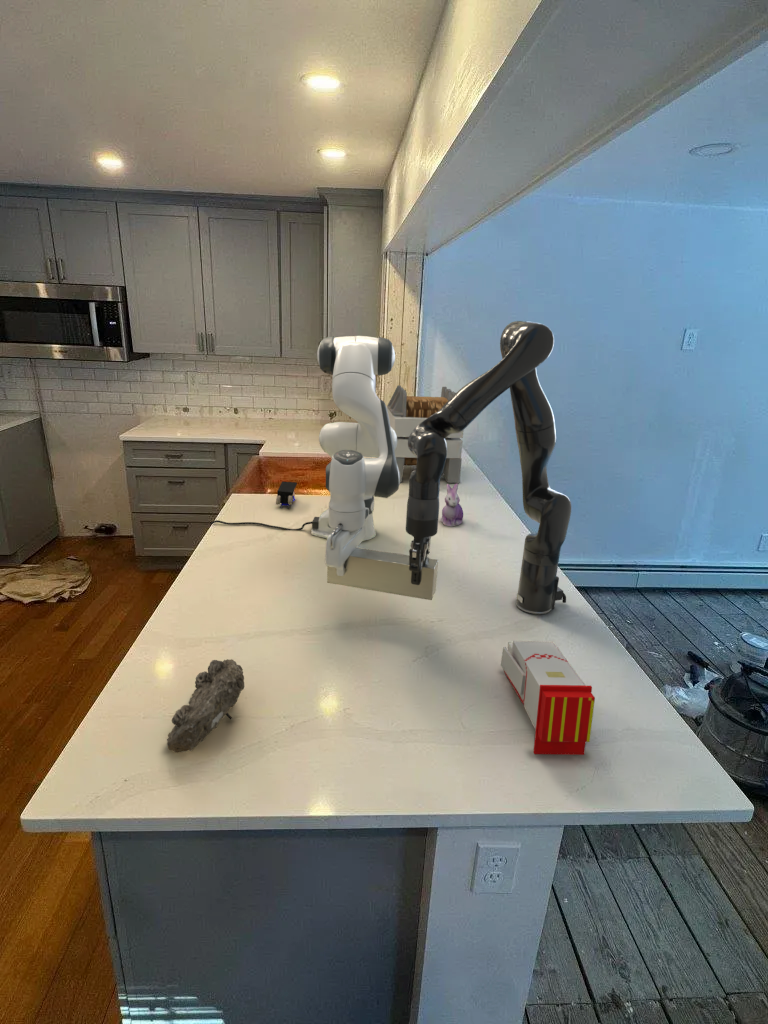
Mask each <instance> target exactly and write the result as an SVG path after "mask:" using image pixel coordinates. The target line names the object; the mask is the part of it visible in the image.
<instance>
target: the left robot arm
mask: <svg viewBox="0 0 768 1024" xmlns="http://www.w3.org/2000/svg"><path fill="white" fill-rule="evenodd" d="M316 360H317V363H318V365H319V369H320V370H321V371H322V372H323V373H324V374H327V375H331V376H332V379H331V380H332V381H331V387H332V388H331V393H332V400H333V403H334V404H335V406H336V407H337V408H338V410H339V411H341V412H342V413H344V414H345V415H346V416H348V417H350V418H352V419H353V420H355V421H356V422H348V421H335V422H330V423H325V424H324V425H323V426H322V427H321V429H320V431H319V435H318V442H319V446H320V448H321V450H322V451H323V452H324V453H325V454H327V455H328V456H329V457H330V459H331V460H330V462H329V463H328V464H327V465H326V467H325V488H326V490H327V491H328V492H329V495H330V497H329V502H328V508H326V509H325V510H323V512H321V514H320V515H319V516H314V517H313V519H312V521H307V522H304V523H303V524H302V525H301V527H299V528H287V527H283V526H278V525H277V526H276V525H271V524H267V523H262V522H256V521H243V522H241V521H240V522H226V521H223V520H218V519H217V520H213V521H211V522H210V523H209V525H213V524H216V523H220V524H223V525H229V526H233V525H234V526H235V525H237V526H240V525H255V526H256V525H257V526H263V527H267V528H272V529H277V530H278V529H279V530H284V531H302V530H303V529H304V527H305V526H307V525H311V530H310V533H311V536H315V537H319V538H323V539H326V542H325V554H324V557H325V558H324V563H325V566H326V567H327V566H329V567H334V568H336V569H337V575H338V576H343V575H344V574H345V568H344V563H345V561H346V559H347V558H348V557H349V555H350V554H351V553H352V552H353V551H354V549H355V548H359V545H361V543H362V542H365V541H368V540H372V539H373V538H375V537H376V535H377V532H376V528H375V523H374V513H373V512H374V509H375V498H383V499H388V498H389V497H391V496H393V495H394V494H395V493H396V492H397V491H398V490H399V487H400V484H401V482H400V472H399V468H398V465H397V462H396V457H395V452H394V450H395V449H396V446H397V435H396V433H395V431H394V429H393V428H392V427H390V422H389V416H388V412H387V405H386V402H385V401H384V400H383V399H381V398H380V397H379V396H378V394H377V390H376V386H377V385H376V384H377V383H376V381H377V380H376V379H377V378H376V376H385V375H388V374H389V373H390V372H391V371H392V369H393V367H394V364H395V361H396V351H395V347H394V346H393V343H392V341H391V340H390V339H389V338H386V337H381V336H379V337H374V336H366V335H354V336H353V335H350V336H349V335H346V336H338V337H335V336H327V337H324V338H323V339H322V340H321V341H320V342H319V345H318V347H317V351H316Z"/></svg>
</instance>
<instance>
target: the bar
mask: <svg viewBox="0 0 768 1024" xmlns="http://www.w3.org/2000/svg"><path fill="white" fill-rule="evenodd" d="M421 558H422V557H421ZM414 565H416V566H417V564H414ZM344 568H345V574H344V575H343V576H338V575H337V569H336V568H334V567H329V566H327V565H326V583H327V584H332V585H338V586H344V587H350V588H356V589H361V590H366V591H373V592H378V593H386V594H392V595H397V596H403V597H408V598H409V597H410V598H415V599H421V600H426V601H427V600H428V601H432V600H433V598H434V595H435V594H436V591H437V584H438V583H437V581H438V579H437V578H438V570H439V559H435V558H429V557H428V558H425V561H423V563H422V570H421V583H420V585H414V584H412V583H411V573H412V571H410V570H409V554H401V553H395V552H389V551H382V550H376V549H375V550H374V549H370V548H369V549H367V548H361V547H357V548H355V549H354V551H353V552H352V553H351V554H350V555H349V557H348V558H347V559H346V561H345V563H344Z"/></svg>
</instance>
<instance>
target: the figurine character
mask: <svg viewBox="0 0 768 1024" xmlns="http://www.w3.org/2000/svg"><path fill="white" fill-rule="evenodd" d="M297 484H298V482H296V481H295V482H294V481H284V480H283V481H281V483H280V485H279V487H278V489H277V494H276V498H275V499H276V500H275V503H276V505H279V508H280V509H283V506H285V507H287V509H290V508H291V506H292V505H293V503H294V502H295V501H296V497H295V496H296V492H295V489H296V488H297Z"/></svg>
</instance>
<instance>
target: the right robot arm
mask: <svg viewBox="0 0 768 1024" xmlns="http://www.w3.org/2000/svg"><path fill="white" fill-rule="evenodd" d="M554 345H555V336H554V333H553V331H552V330H551V328H550V327H549V326H547V325H546V324H543V323H540V322H534V321H526V320H514V321H511V322H510V323H508V324H507V325H506V326H505V327H504V329H503V330H502V332H501V335H500V339H499V349H500V354H501V355H500V356H501V360H500V361H499V362H498V363H497V364H495V365H494V366H493V367H491V368H490V369H489V370H487V371H485V372H484V373H482V374H481V375H479V376H478V377H477V376H476V378H474V379H472V380H471V381H469V382H468V383H466V384H465V385H463V386H462V387H461V388H460V389H458V390H457V392H455V393H456V394H455V395H454V396H453V397H452V398H451V399H450V400H449V401H448V402H447V403H446V404H445V405H444V406H443V407H442V408H441V409H440V410H439V411H437V412H436V413H434V414H433V415H431V416H430V417H428V418H427V419H426V420H424V421H423V422H421V423H420V424H419V425H418V426H417V427H416V428H415V429H414V430H413V431H412V432H411V434H410V436H409V438H408V448H409V450H410V451H411V452H412V453H413V454H414V455H415V456H417V464H416V466H415V469H414V470H413V471H411V472H410V475H409V482H408V483H409V484H408V497H407V501H406V515H405V532H406V533H407V534H408V535H409V536H411V537H413V539H412V540H411V542H410V548H409V549H408V555H409V570H410V571H412V573H411V583H412V584H414V585H420V583H421V570H422V563H423V561H425V558H429V555H430V554H431V553H430V551H431V550H430V549H431V548H430V547H431V539H432V537H434V536H436V535H437V534H438V531H439V530H438V528H439V516H440V487H441V478H442V475H443V474H442V472H443V468H444V465H445V461H446V457H447V443H446V440H445V438H446V437H448V436H449V435H450V434H453V433H460V432H461V431H463V430H464V431H465V429H467V427H468V426H469V425H470V424H472V423H473V421H475V419H476V418H478V417H479V415H481V413H482V412H483V411H484V410H485V409H486V408H487V407H488V406H489V405H491V404H492V403H493V402H494V401H495V400H496V399H497V398H498V397H500V396H501V395H502V394H504V393H505V392H506V391H507V390H508V389H509V393H510V401H511V406H512V413H513V419H514V421H513V422H514V429H515V436H516V443H517V447H518V448H517V449H518V454H519V463H520V468H521V469H520V470H521V484H522V485H521V486H522V487H521V489H522V505H523V510H524V513H525V515H526V516H527V517H528V518H529V519H531V520H532V521H535V522H536V523H538V524H539V525H538V530H537V532H531V533H529V534H527V535H526V536H525V538H524V543H523V544H524V545H523V552H522V560H521V566H520V572H519V574H520V575H519V581H518V588H517V593H516V600H515V605H516V607H517V608H518V609H519V610H521V611H523V612H524V613H527V614H529V615H530V614H531V615H539V616H540V615H541V616H542V615H547V614H549V613H550V612H551V611H552V610H555V604H556V601H562V604H565V603H567V596H566V593H565V592H564V590H563V589H562V588H560V587H559V581H560V578H559V576H558V575H557V573H558V569H559V561H560V555H561V549H562V546H563V545H564V543H565V540H566V537H567V534H568V529H569V524H570V520H571V515H572V502H571V500H570V498H569V497H568V495H566V494H564V493H563V492H559V491H557V490H555V489H552V488H551V486H550V483H549V477H548V463H549V461H550V459H551V457H552V455H553V452H554V450H555V448H556V445H557V431H556V422H555V416H554V412H553V409H552V407H551V404H550V402H549V400H548V398H547V396H546V394H545V392H544V390H543V388H542V386H541V383H540V381H539V377H538V374H537V373H538V372H537V368H538V367H539V366H540V365H542V364H543V363H544V362H545V361H546V360H547V359H548V358H549V357H550V355H551V354H552V352H553V349H554ZM421 557H422V558H421ZM414 564H417V566H416V565H414Z"/></svg>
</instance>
